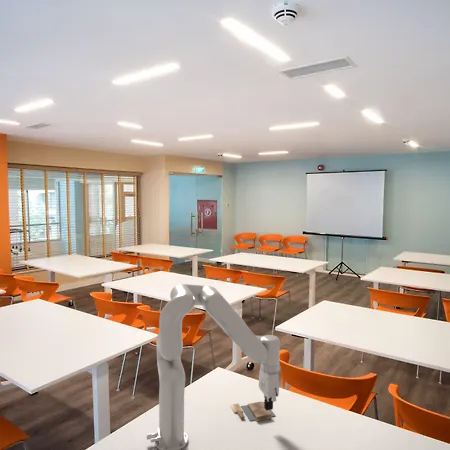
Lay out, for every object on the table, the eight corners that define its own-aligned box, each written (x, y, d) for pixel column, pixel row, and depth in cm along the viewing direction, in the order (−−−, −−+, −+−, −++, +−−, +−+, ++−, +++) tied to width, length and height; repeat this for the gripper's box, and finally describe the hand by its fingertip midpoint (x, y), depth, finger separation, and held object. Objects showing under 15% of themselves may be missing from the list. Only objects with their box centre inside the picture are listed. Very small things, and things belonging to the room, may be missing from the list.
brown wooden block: (256, 416, 153) (247, 403, 162) (256, 421, 153) (247, 407, 162) (271, 414, 155) (262, 401, 164) (271, 418, 155) (261, 405, 164)
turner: (238, 420, 153) (238, 417, 153) (230, 406, 164) (230, 403, 164) (247, 418, 155) (247, 415, 155) (238, 404, 165) (238, 402, 165)
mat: (249, 421, 153) (250, 420, 153) (240, 406, 163) (240, 406, 163) (275, 416, 157) (275, 415, 157) (265, 402, 167) (265, 401, 167)
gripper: (254, 359, 154) (252, 400, 155) (269, 376, 140) (268, 421, 141) (269, 357, 156) (268, 397, 158) (286, 373, 142) (285, 417, 144)
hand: (268, 408), depth 149 cm, fingers closed
